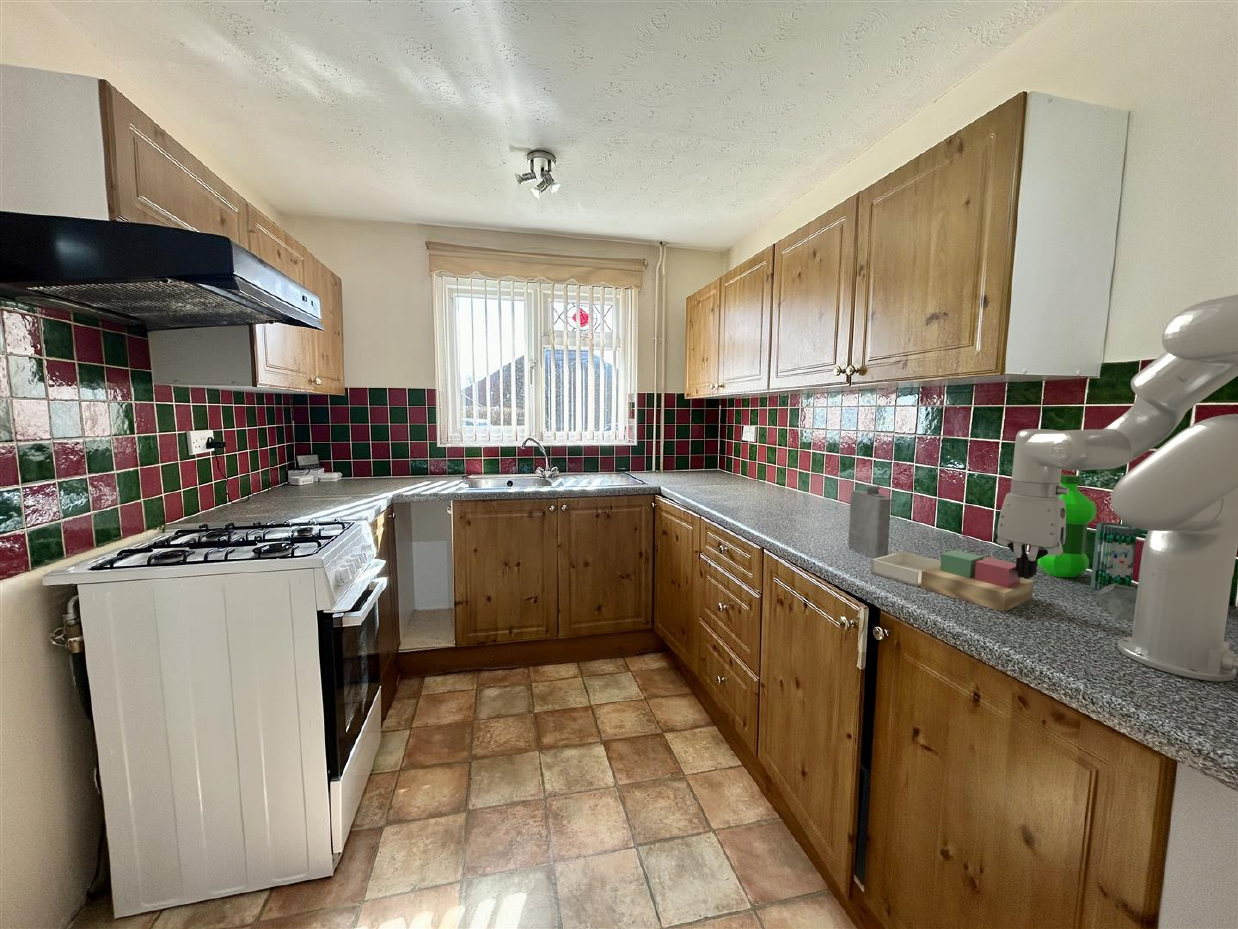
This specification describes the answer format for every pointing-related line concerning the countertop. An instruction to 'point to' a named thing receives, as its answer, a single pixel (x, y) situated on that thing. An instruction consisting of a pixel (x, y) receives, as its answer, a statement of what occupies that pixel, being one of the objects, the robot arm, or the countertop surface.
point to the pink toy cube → (997, 572)
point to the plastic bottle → (1072, 532)
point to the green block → (959, 563)
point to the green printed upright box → (1113, 555)
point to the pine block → (977, 589)
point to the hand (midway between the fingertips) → (1025, 576)
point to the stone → (1119, 600)
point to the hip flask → (869, 522)
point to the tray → (903, 567)
